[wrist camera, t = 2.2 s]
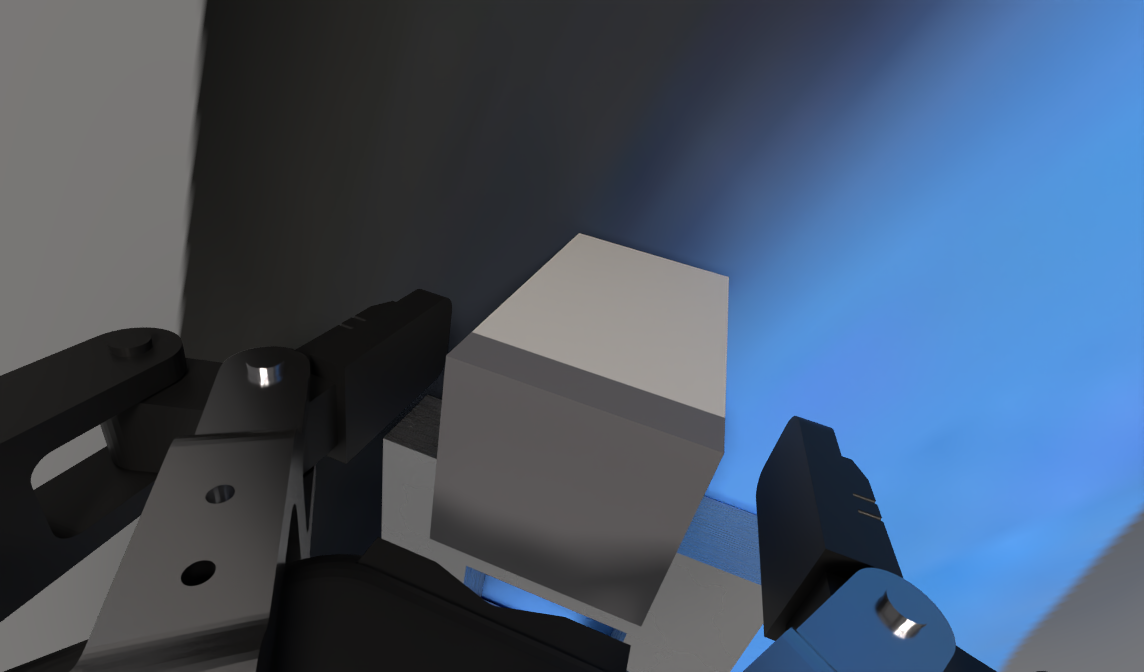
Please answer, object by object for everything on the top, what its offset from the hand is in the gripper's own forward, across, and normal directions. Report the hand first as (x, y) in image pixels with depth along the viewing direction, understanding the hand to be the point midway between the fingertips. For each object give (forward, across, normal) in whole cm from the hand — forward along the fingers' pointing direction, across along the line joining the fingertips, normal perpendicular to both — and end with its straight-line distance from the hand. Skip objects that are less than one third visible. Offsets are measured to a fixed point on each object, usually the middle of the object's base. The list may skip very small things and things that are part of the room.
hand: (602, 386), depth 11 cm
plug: (+3, 0, 0) cm, 3 cm away
